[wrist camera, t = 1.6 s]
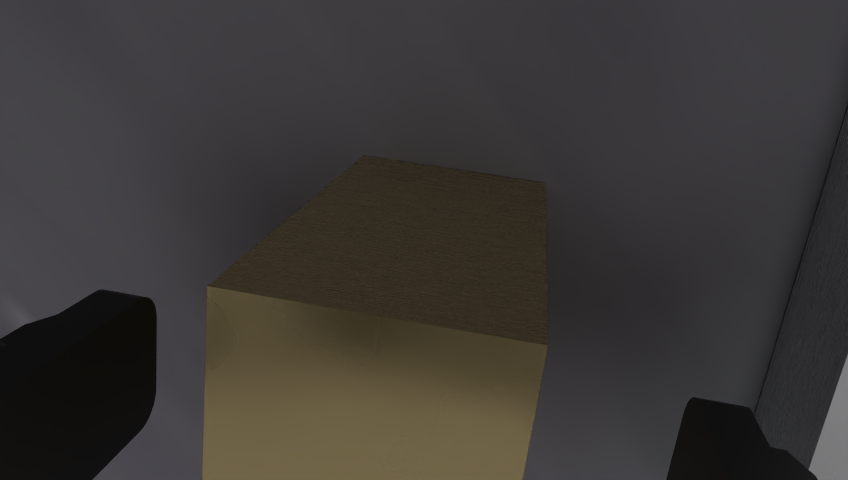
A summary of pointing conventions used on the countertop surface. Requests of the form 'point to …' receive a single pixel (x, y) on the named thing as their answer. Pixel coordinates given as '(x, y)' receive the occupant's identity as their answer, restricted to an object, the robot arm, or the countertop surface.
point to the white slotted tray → (815, 342)
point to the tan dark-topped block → (383, 332)
